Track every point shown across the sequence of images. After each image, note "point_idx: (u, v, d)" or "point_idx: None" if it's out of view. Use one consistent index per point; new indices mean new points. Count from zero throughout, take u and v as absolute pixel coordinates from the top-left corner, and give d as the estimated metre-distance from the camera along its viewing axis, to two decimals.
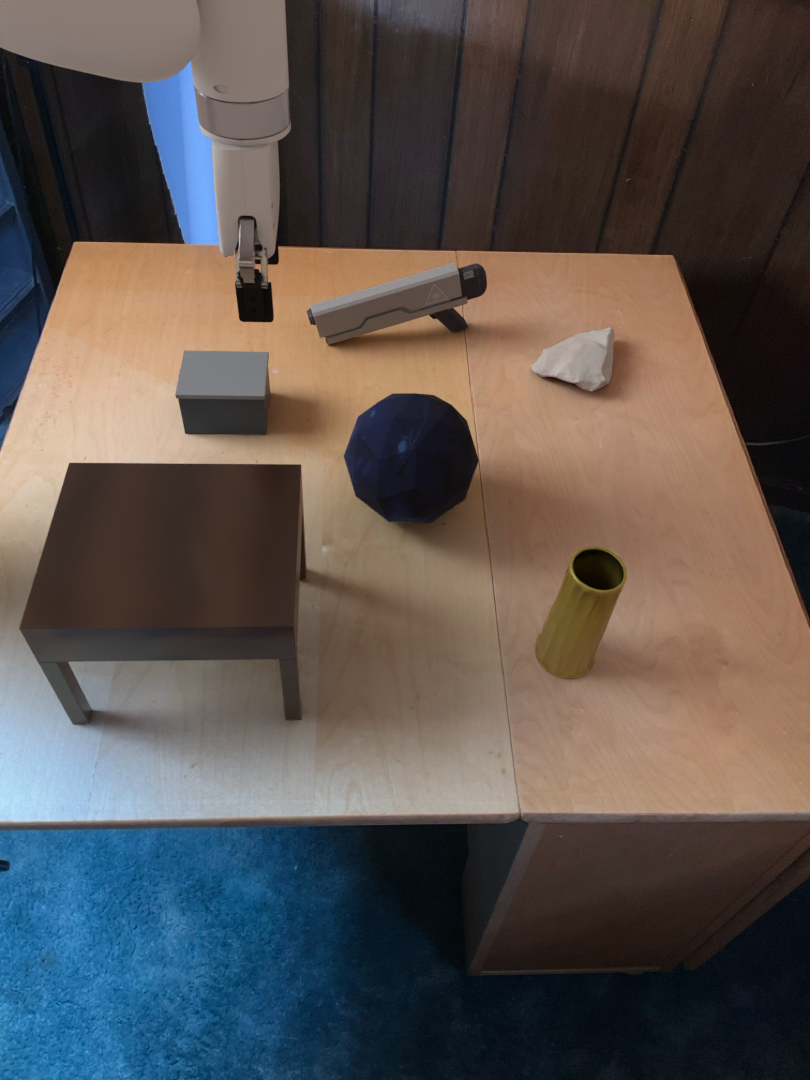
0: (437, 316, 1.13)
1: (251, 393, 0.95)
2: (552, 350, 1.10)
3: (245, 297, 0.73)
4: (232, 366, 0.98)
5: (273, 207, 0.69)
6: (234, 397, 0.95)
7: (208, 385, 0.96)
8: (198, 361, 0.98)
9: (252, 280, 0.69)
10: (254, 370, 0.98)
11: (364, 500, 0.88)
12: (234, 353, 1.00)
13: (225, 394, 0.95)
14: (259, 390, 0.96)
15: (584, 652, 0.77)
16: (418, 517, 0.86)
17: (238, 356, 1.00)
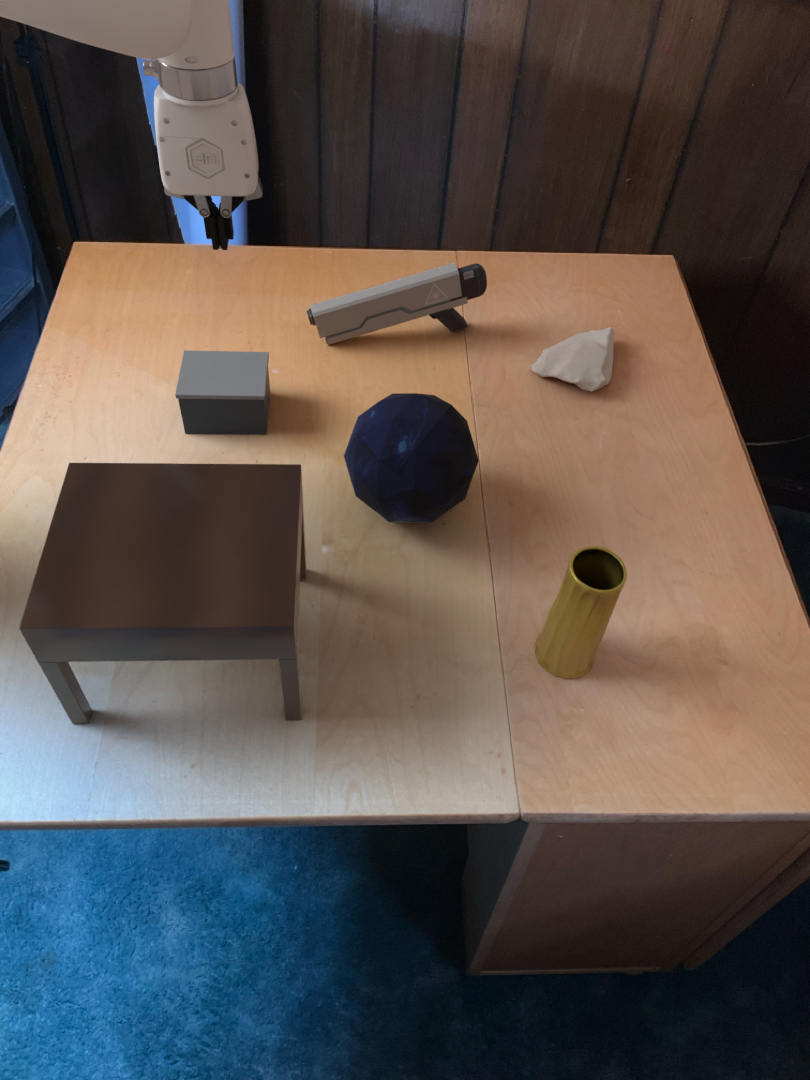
0: (437, 316, 1.13)
1: (251, 393, 0.95)
2: (552, 350, 1.10)
3: (230, 222, 0.92)
4: (232, 366, 0.98)
5: None
6: (234, 397, 0.95)
7: (208, 385, 0.96)
8: (198, 361, 0.98)
9: None
10: (254, 370, 0.98)
11: (364, 500, 0.88)
12: (234, 353, 1.00)
13: (225, 394, 0.95)
14: (259, 390, 0.96)
15: (584, 652, 0.77)
16: (418, 517, 0.86)
17: (238, 356, 1.00)
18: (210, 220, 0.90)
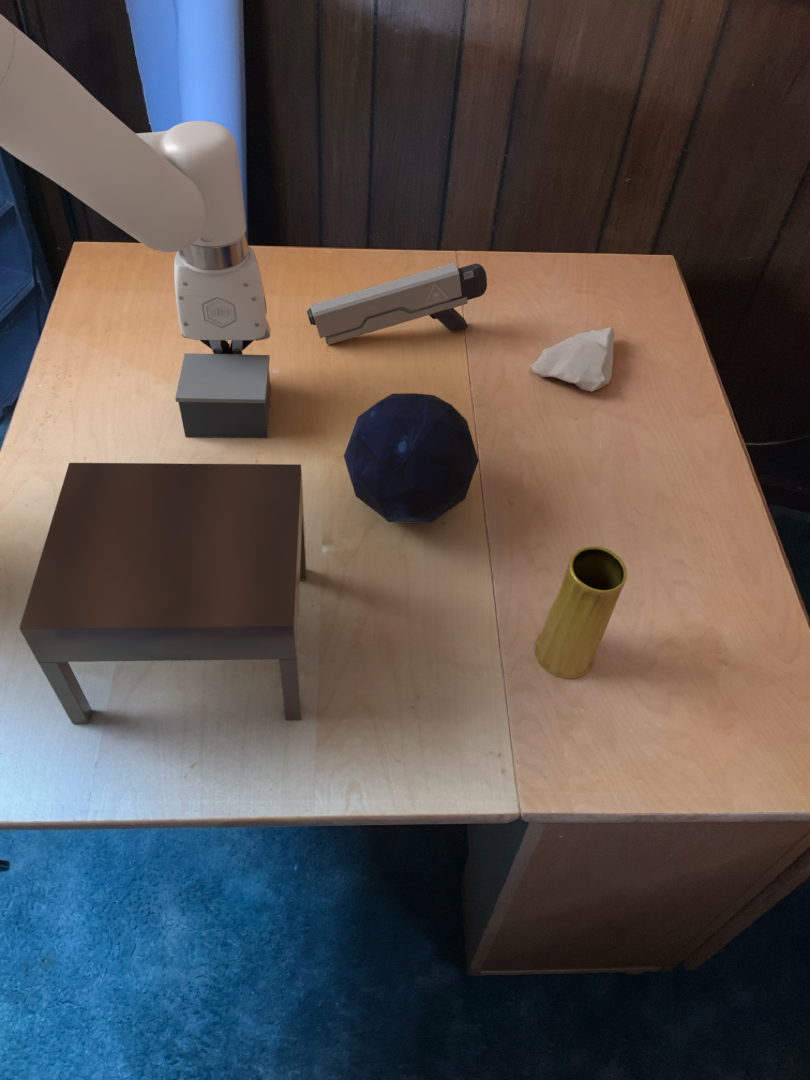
0: (437, 316, 1.13)
1: (252, 396, 0.95)
2: (552, 350, 1.10)
3: None
4: (233, 369, 0.98)
5: None
6: (234, 400, 0.95)
7: (208, 389, 0.95)
8: (198, 364, 0.98)
9: None
10: (255, 373, 0.98)
11: (364, 500, 0.88)
12: (235, 356, 0.99)
13: (225, 397, 0.95)
14: (260, 393, 0.95)
15: (584, 652, 0.77)
16: (418, 517, 0.86)
17: (239, 359, 0.99)
18: None
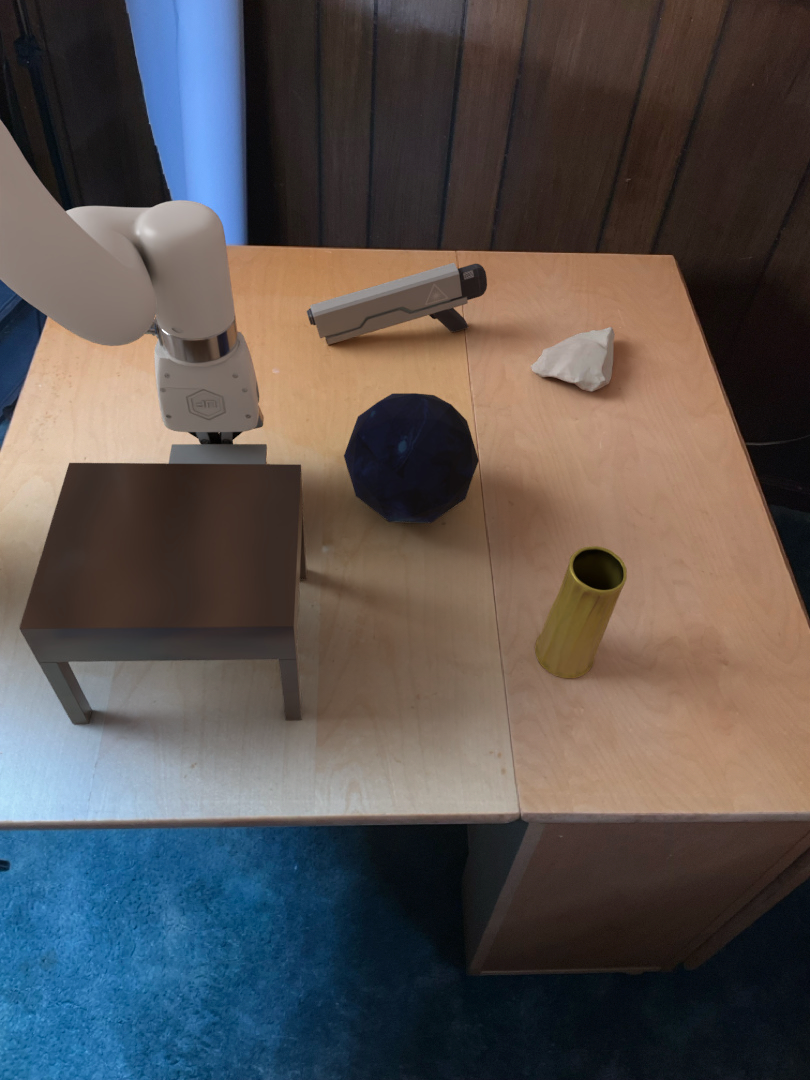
0: (437, 316, 1.13)
1: None
2: (552, 350, 1.10)
3: None
4: (226, 463, 0.88)
5: None
6: None
7: None
8: (187, 458, 0.88)
9: None
10: None
11: (364, 500, 0.88)
12: (228, 447, 0.89)
13: None
14: None
15: (584, 652, 0.77)
16: (418, 517, 0.86)
17: (232, 450, 0.89)
18: None
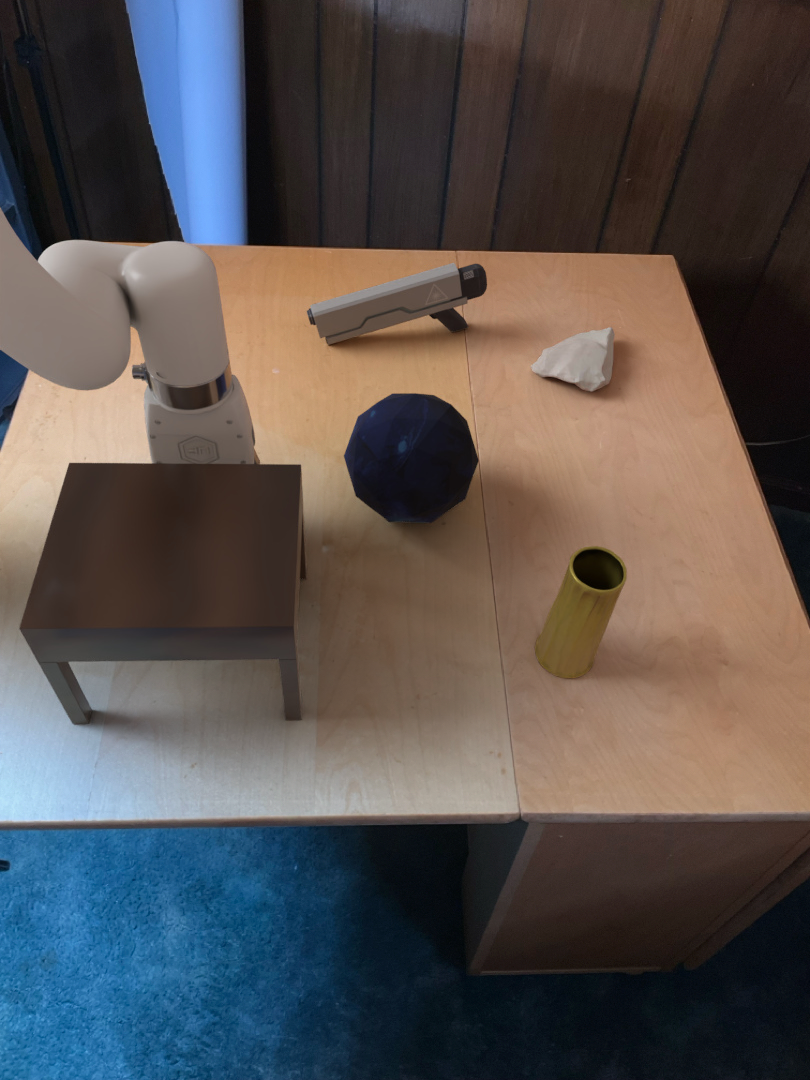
0: (437, 316, 1.13)
1: None
2: (552, 350, 1.10)
3: None
4: None
5: None
6: None
7: None
8: None
9: None
10: None
11: (364, 500, 0.88)
12: None
13: None
14: None
15: (584, 652, 0.77)
16: (418, 517, 0.86)
17: None
18: None
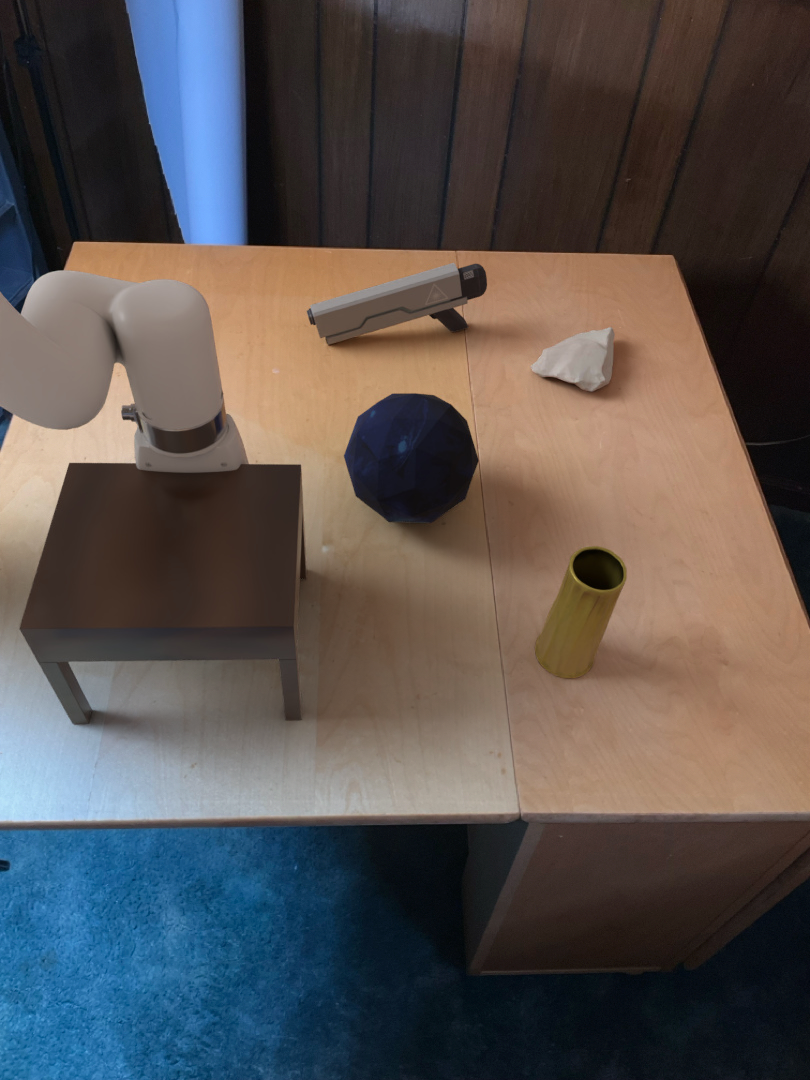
0: (437, 316, 1.13)
1: None
2: (552, 350, 1.10)
3: None
4: None
5: None
6: None
7: None
8: None
9: None
10: None
11: (364, 500, 0.88)
12: None
13: None
14: None
15: (584, 652, 0.77)
16: (418, 517, 0.86)
17: None
18: None
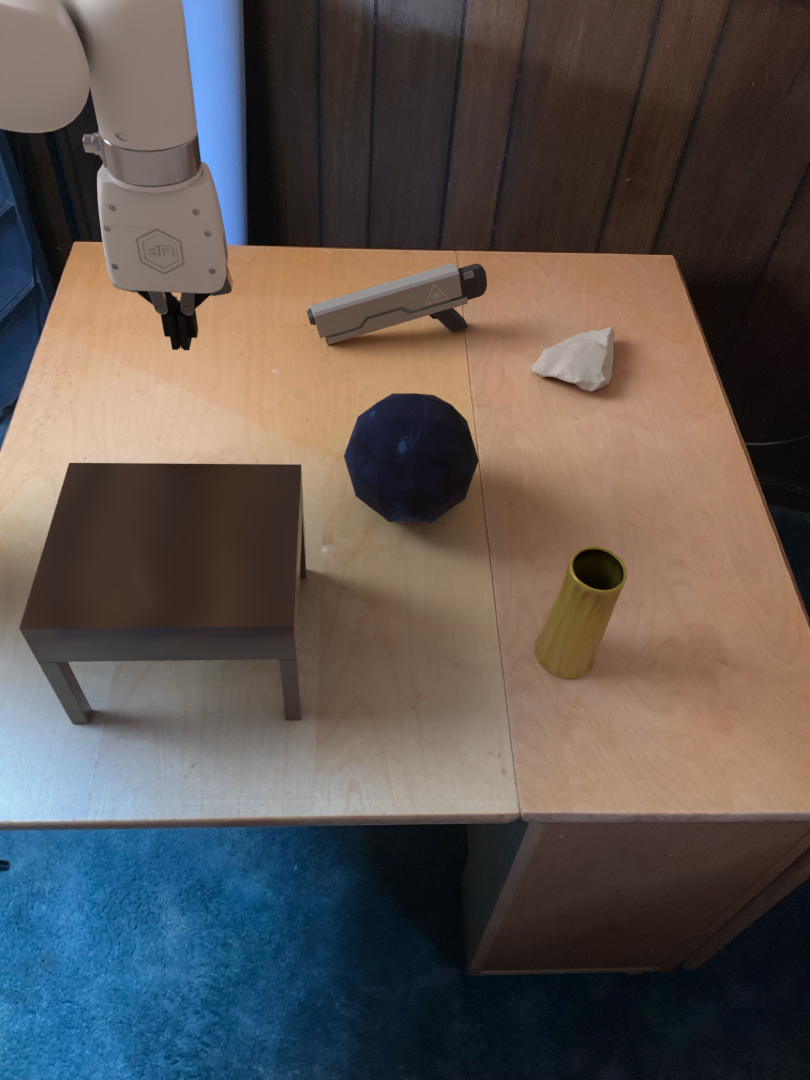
0: (437, 316, 1.13)
1: None
2: (552, 350, 1.10)
3: (193, 319, 0.76)
4: None
5: None
6: None
7: None
8: None
9: None
10: None
11: (364, 500, 0.88)
12: None
13: None
14: None
15: (584, 652, 0.77)
16: (418, 517, 0.86)
17: None
18: (168, 318, 0.75)
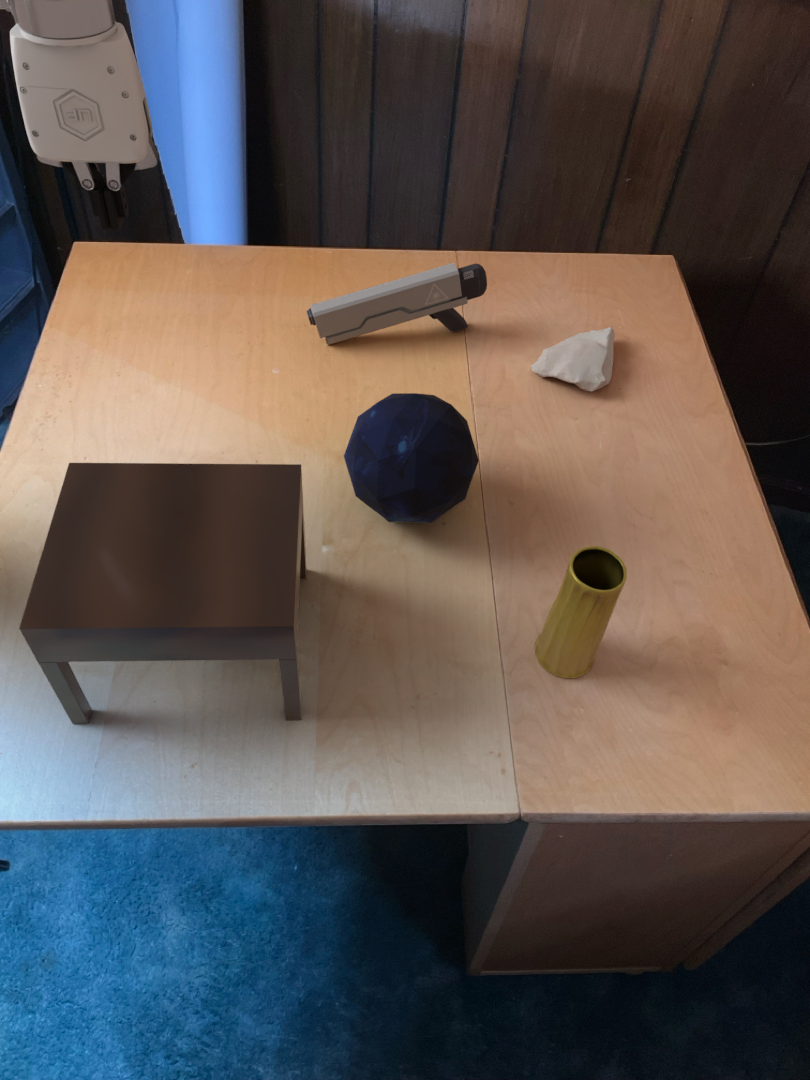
0: (437, 316, 1.13)
1: None
2: (552, 350, 1.10)
3: (121, 196, 0.76)
4: None
5: None
6: None
7: None
8: None
9: None
10: None
11: (364, 500, 0.88)
12: None
13: None
14: None
15: (584, 652, 0.77)
16: (418, 517, 0.86)
17: None
18: (95, 193, 0.75)
